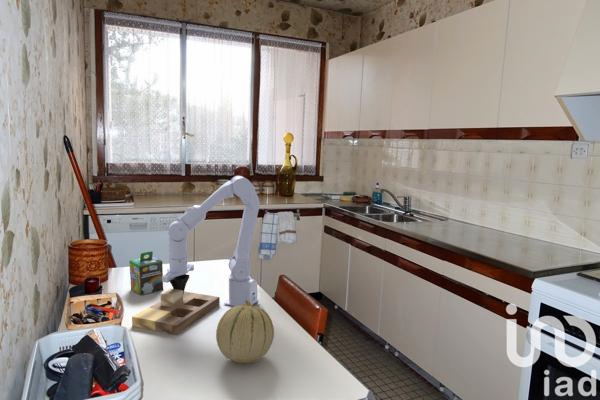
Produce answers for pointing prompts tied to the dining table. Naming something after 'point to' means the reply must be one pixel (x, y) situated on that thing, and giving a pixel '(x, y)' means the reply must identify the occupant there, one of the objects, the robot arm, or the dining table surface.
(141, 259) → the chalk box
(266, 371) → the dining table surface
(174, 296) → the maple block
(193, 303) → the board
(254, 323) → the cantaloupe
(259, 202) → the robot arm
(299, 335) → the dining table surface
